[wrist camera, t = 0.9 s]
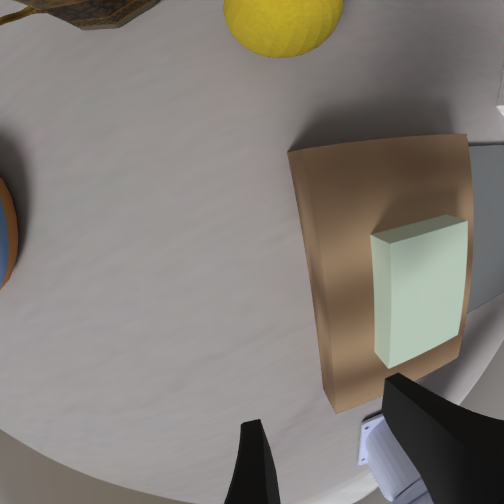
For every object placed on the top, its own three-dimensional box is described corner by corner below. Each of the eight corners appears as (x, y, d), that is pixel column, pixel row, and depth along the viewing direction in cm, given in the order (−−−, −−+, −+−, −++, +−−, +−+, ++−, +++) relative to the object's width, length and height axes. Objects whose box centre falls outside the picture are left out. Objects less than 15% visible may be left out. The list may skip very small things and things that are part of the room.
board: (439, 340, 22) (458, 357, 19) (323, 389, 21) (335, 413, 19) (438, 134, 17) (466, 133, 14) (286, 152, 16) (302, 149, 13)
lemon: (204, 22, 13) (202, -60, 6) (282, -6, 13) (319, -80, 5) (250, 90, 15) (280, 30, 7) (327, 57, 15) (396, 3, 7)
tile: (441, 322, 18) (457, 334, 16) (374, 351, 17) (388, 368, 15) (446, 214, 15) (467, 220, 13) (370, 234, 15) (389, 243, 13)
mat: (509, 285, 22) (511, 286, 22) (446, 321, 22) (448, 323, 21) (511, 144, 18) (514, 144, 17) (445, 147, 17) (448, 147, 17)
